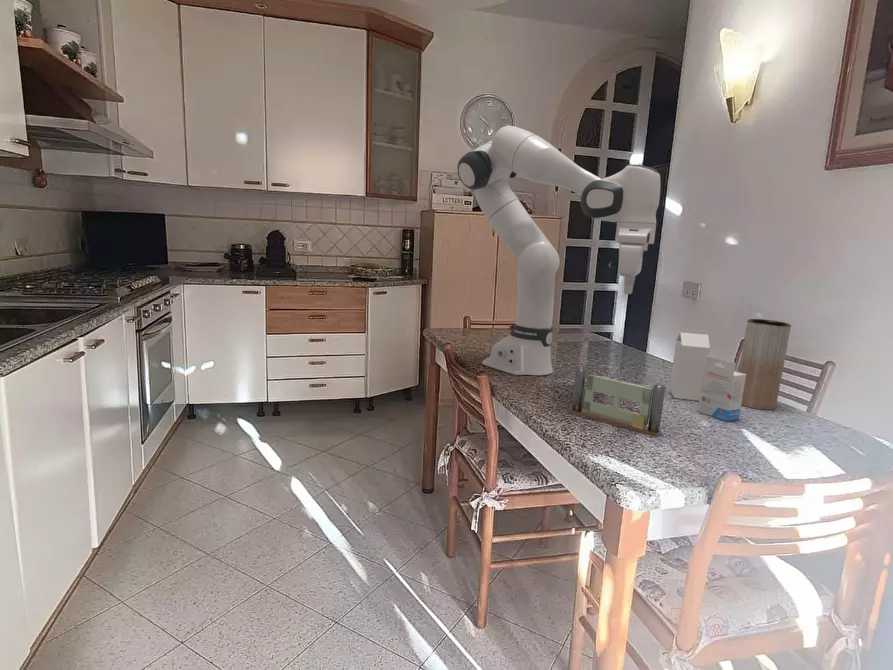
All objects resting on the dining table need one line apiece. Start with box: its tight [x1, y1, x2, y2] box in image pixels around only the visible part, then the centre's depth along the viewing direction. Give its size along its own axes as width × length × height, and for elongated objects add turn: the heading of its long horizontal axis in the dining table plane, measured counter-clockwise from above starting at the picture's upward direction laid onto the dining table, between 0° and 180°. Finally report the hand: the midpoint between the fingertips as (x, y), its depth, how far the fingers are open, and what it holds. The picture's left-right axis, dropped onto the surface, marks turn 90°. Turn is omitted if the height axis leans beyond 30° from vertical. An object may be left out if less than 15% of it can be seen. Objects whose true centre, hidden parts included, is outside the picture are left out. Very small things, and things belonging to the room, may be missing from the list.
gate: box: [583, 373, 653, 426], centre depth 125 cm, size 15×1×8 cm, turn 51°
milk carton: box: [669, 327, 711, 402], centre depth 149 cm, size 7×7×19 cm
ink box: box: [697, 355, 746, 422], centre depth 135 cm, size 8×5×15 cm, turn 26°
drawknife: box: [568, 366, 666, 437], centre depth 125 cm, size 21×3×11 cm, turn 51°
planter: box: [738, 318, 792, 411], centre depth 145 cm, size 10×10×23 cm
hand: (627, 293), depth 132 cm, fingers closed
